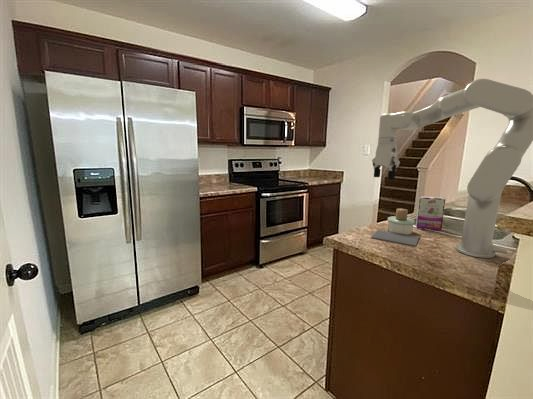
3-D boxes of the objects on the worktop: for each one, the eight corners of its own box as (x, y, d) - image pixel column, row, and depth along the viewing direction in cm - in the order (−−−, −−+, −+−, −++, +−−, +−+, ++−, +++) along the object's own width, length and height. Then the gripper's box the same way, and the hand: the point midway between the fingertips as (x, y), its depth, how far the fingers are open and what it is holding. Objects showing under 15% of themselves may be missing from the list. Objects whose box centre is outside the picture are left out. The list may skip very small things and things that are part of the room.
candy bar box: (439, 228, 137) (443, 197, 134) (441, 231, 132) (446, 198, 129) (414, 225, 141) (418, 195, 138) (416, 228, 137) (419, 197, 133)
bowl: (413, 230, 133) (414, 220, 132) (410, 236, 125) (411, 226, 124) (390, 226, 140) (391, 217, 138) (385, 231, 131) (386, 222, 130)
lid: (416, 220, 133) (417, 209, 131) (413, 226, 123) (414, 214, 122) (390, 216, 139) (391, 205, 138) (385, 222, 130) (386, 210, 128)
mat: (419, 238, 122) (419, 236, 122) (415, 246, 112) (415, 245, 112) (377, 230, 132) (377, 229, 132) (371, 238, 122) (371, 236, 122)
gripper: (408, 141, 116) (404, 180, 120) (380, 141, 133) (378, 176, 136) (393, 141, 114) (390, 180, 118) (368, 141, 130) (365, 176, 134)
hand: (383, 178), depth 127 cm, fingers open, 9 cm apart
